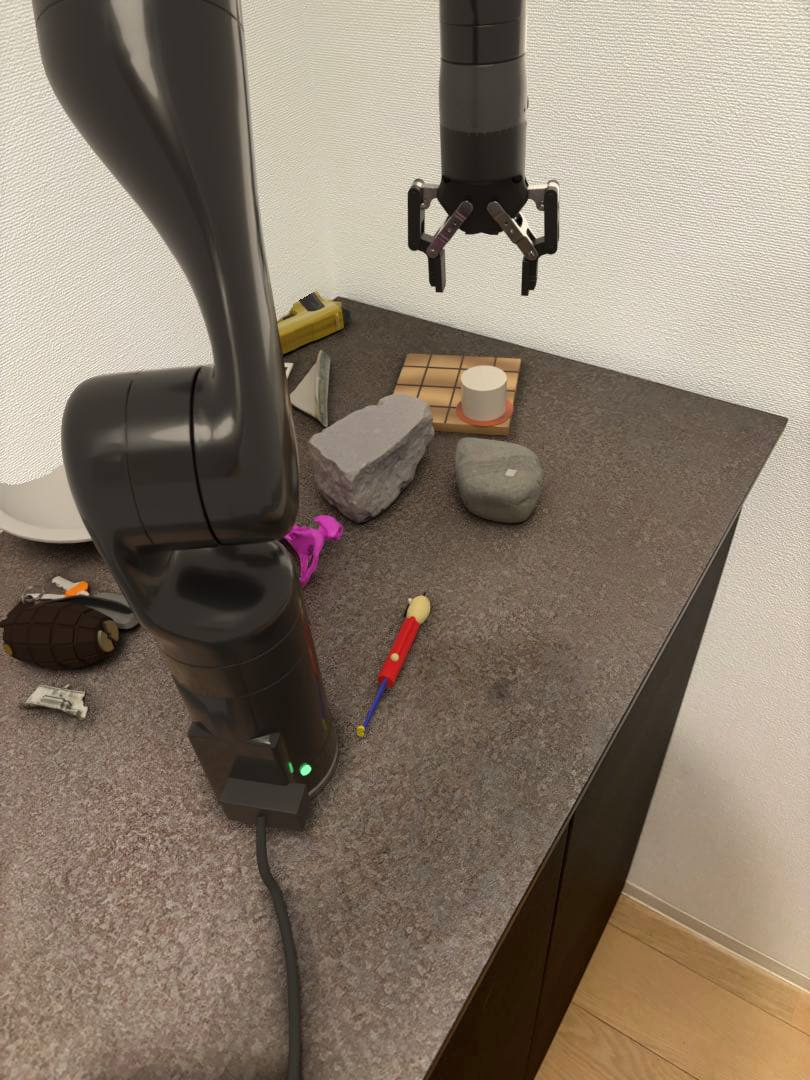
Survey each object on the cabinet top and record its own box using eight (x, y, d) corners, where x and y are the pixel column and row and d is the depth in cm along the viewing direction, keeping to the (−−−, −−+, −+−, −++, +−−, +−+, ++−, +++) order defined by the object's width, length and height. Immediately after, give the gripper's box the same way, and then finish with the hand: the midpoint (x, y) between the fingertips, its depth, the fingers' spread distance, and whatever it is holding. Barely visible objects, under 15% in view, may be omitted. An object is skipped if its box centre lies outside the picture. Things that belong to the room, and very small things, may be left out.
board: (509, 437, 87) (510, 427, 86) (384, 428, 89) (383, 419, 89) (522, 367, 97) (522, 358, 96) (408, 361, 99) (407, 352, 98)
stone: (548, 462, 83) (548, 418, 74) (538, 542, 80) (537, 508, 71) (464, 455, 85) (453, 411, 76) (451, 533, 82) (439, 498, 73)
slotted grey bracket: (6, 701, 63) (23, 667, 65) (21, 712, 65) (37, 680, 67) (74, 710, 62) (89, 675, 63) (87, 721, 64) (101, 688, 65)
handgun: (309, 295, 114) (360, 322, 107) (193, 341, 105) (240, 374, 98) (307, 279, 112) (359, 305, 105) (189, 324, 104) (236, 356, 97)
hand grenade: (119, 684, 66) (4, 679, 68) (152, 615, 70) (43, 613, 73) (90, 645, 62) (-30, 641, 64) (127, 575, 67) (13, 573, 69)
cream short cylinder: (503, 422, 87) (504, 391, 84) (458, 419, 88) (457, 389, 85) (508, 396, 90) (509, 366, 87) (464, 394, 91) (464, 364, 88)
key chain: (122, 623, 68) (127, 636, 69) (151, 598, 71) (156, 611, 71) (19, 594, 73) (25, 606, 74) (50, 571, 76) (55, 583, 77)
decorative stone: (301, 518, 80) (391, 537, 76) (287, 464, 75) (383, 481, 72) (360, 435, 89) (443, 448, 86) (351, 383, 85) (438, 394, 81)
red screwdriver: (347, 736, 61) (412, 598, 71) (373, 745, 60) (435, 605, 70) (347, 718, 59) (414, 579, 69) (374, 728, 58) (438, 586, 69)
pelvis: (267, 525, 79) (253, 474, 74) (350, 550, 76) (342, 498, 71) (195, 610, 72) (176, 558, 67) (285, 642, 68) (271, 590, 64)
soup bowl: (204, 398, 94) (194, 353, 89) (240, 552, 80) (231, 509, 75) (-12, 437, 89) (-35, 391, 84) (-14, 608, 75) (-42, 566, 69)
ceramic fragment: (327, 429, 90) (323, 400, 87) (282, 432, 90) (276, 403, 87) (334, 365, 100) (330, 338, 98) (293, 368, 100) (288, 341, 98)
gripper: (392, 128, 67) (405, 306, 78) (564, 127, 64) (552, 311, 75) (410, 102, 72) (420, 272, 83) (569, 100, 69) (557, 276, 80)
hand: (483, 290), depth 79 cm, fingers open, 8 cm apart
